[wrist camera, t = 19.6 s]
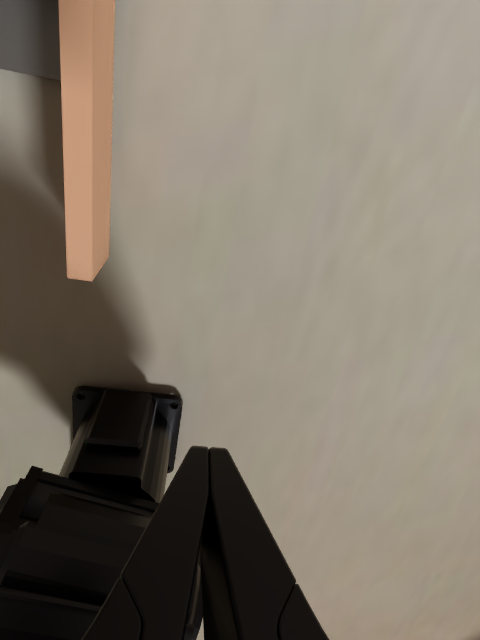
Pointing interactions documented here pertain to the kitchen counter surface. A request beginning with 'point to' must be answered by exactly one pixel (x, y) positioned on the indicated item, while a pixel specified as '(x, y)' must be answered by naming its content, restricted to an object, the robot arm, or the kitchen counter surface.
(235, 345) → the kitchen counter surface
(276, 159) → the kitchen counter surface
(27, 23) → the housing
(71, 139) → the tray
